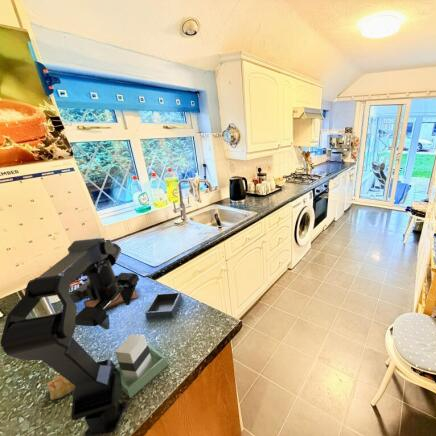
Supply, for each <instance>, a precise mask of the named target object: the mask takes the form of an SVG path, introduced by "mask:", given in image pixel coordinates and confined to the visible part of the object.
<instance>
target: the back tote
mask: <svg viewBox="0 0 436 436" xmlns="http://www.w3.org/2000/svg"><path fill="white" fill-rule="evenodd" d="M182 299H183V296H182V292H181V291H177V292H163V293H162V292H161V293H156V294H155V296H154V298H153V299H152V301H151V303H150V304H149V306H148V307H147V309H146V311H145V313H144V314H145V319H146V320H154V319H155V320H156V319H166V318H174V317H175V314H176V312H177V310H178V307H179V305H180V303H181V301H182Z"/></svg>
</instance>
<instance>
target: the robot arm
mask: <svg viewBox="0 0 436 436" xmlns="http://www.w3.org/2000/svg"><path fill="white" fill-rule="evenodd" d="M67 252H68V254H66V255H65V256H64V257H63V258H61V259H60V260H59V261H58V262H56V263H55V264H53V265H52V266H51V267H50V268H48V269H47V270H46V271H44V272H43V273H42V274H41V275H39V276H38V277H35V278H33V279H31V280H29V281H28V282H27V284H26V287H25V292H24V294H23V297H22V298H21V299H20V300H19V301H18V302H17V303H16V304H15V306H14V307H13V308H12V309H11V310H10V311H9V312H8V314H7V316H6V318H5V323H4V326H3V330H2V333H1V339H0V346H1V347H0V348H2V351H3V352H4V353H5V354H6V355H7V356H9V357H11V358H13V359H18V360H21V361H40V362H43V363H45V364H46V365H47V366H49V367H50V368H51V369H53V371H55V372H56V373H57V374H58V375H62V376H63V377H64V378H66V379H67V380H68V381H69V382H71V383H72V384H73V385H75V386H74V389H73V391H72V393H71V396H72V401H71V402H72V404H71V415H70V420H72V421H78V420H80V419H83V418H84V421H85V423H86V425H87V429H86V431H85V433H84V436H99V435H106V434H112V433H114V432H115V431H116V428H117V427H118V424H119V422H120V421H121V418H122V415H123V414H124V411H125V409H126V407H127V403H126V402H120V399H121V396H122V392H123V391H122V383H121V376H120V372H119V371H118V370H117V368H116V367H117V364H114V362H113V361H112V359H110V358H108V359H104V360H101V361H96V360H95V359H94V358H93V357H92V356H91V355H90V354H89V353H88V352H87V351H86V350H85V348H83V347H82V346H81V345H80V343H79V342H78V341H76V340H75V338H74V337H73V336H74V334H75V331H76V327H77V326H81V327H82V326H83V327H96V326H98V327H100V328H102V329H104V330H106V331H107V330H110V327H111V326H110V314H108V312H107V310H105V307H106V306H107V305H108V304H109V303H110V302H111V301H113V300H114V299H115V297H116V296H117V295H118V294H119V293H120V294H121V296H122V299H123V301H124V303H123V304H125V306H130V305H131V302H132V300H131V299H132V295H133V292H134V290H136V287H137V285H138V282H139V281H140V278H139V275H138V274H137V273H135V272H122V271H121V272H120V273H119V274H117V275H116V274H115V271H114V269H113V267H114V266H115V265H116V263H117V260H118V259H119V256H120V255H121V252H122V247H121V246H120V245H118V244H117V243H115V242H111V240H110V239H105V237H95V238H86V239H78V240H73V242H72V243H71V244H70V245H69V246H68V247H67ZM80 276H82V277H87V281H85V282H84V283H82V284H81V285H80V286H78V288H76V289H75V290H72V291H71V292H70V288H71V285H72V284H73V283H74V282H75V281H76V280H77V279H78V278H79V277H80ZM55 296H57V297H58V299H59V301H60V303H61V304H62V311H61V312H60V311H59V312H55V313H50V314H49V313H48V314H45V315H40V316H35V317H29V318H27V317H28V316H29V315H30V314H31V312H32V311H33V310H34V308H35V307H36V306H37V305H38V304H39V303H40V302H41V299H42V298H48V297H55ZM89 299H90V300H91V301H95V300H98V301H99V302H98V303H97V304H96V305H95V306H94V307H88V306H86V307H85V306H84V307H83V309H81V310H80V311H79V312H78V313H77V311H78V306H77V305H76V303H80V302H82V301H85V300H89Z"/></svg>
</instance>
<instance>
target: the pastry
mask: <svg viewBox="0 0 436 436" xmlns="http://www.w3.org/2000/svg"><path fill="white" fill-rule="evenodd" d="M74 386H75V385H73V384H72V383H71V382H69V381H68V380H67V379H66V378H64V377H63V376H62V375H60V374H58V375H56V376H54V377H53V379H52V380H51V381H48V382H47V383H46V387H47V390H48V392H49V395H50V396H49V399H50V400H52V401H53V400H56V399H61V398H63V397H65V396H66V395H68V394H70V393H71V392H73V389H74Z"/></svg>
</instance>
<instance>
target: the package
mask: <svg viewBox="0 0 436 436" xmlns="http://www.w3.org/2000/svg"><path fill="white" fill-rule="evenodd" d="M147 344H148V342H147V338H146V335H143V334H134V333H130V334H129V335H128V336H127V338H126V339H125V340H124V341H123V342H122V343H121V344H120V345H119V346H118V348H117V349H116V350H115V351H114V353H115V357H116V359H117V362H118V365H119V366H120V369H121V370H122V373H123V376H124V378H125V381H127V382H135V381H136V380H137V379H138V378H140V377H141V376H142V375H143V374H144V373H146V372H147V371H148V370H149V369H150V368H151V366H152V365H153V362H152V358H151V355H150V350H149V347H148V345H149V344H148V345H147Z"/></svg>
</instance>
